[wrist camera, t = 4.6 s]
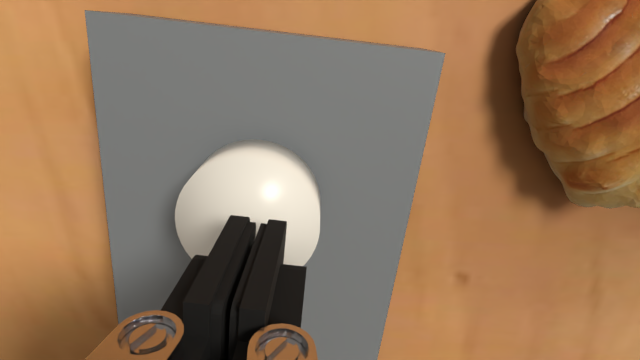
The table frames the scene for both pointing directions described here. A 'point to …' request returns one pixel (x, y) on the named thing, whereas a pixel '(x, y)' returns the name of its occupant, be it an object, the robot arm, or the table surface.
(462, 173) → the table surface
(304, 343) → the robot arm
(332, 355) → the knob mount
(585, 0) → the pastry
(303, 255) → the white knob
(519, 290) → the table surface
